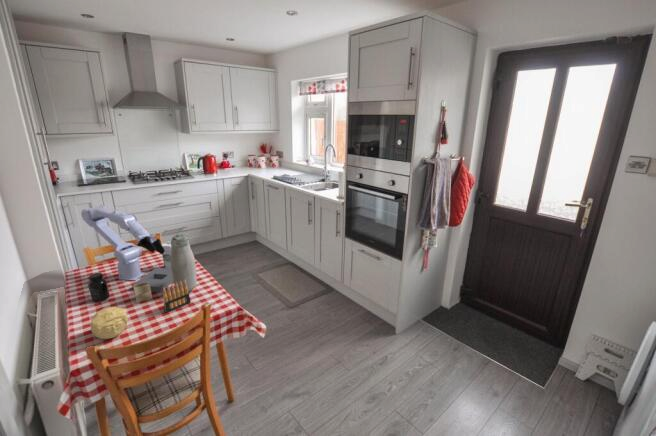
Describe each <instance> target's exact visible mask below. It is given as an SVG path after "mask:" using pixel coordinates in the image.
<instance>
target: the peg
mask: <svg viewBox="0 0 656 436" xmlns="http://www.w3.org/2000/svg"><path fill="white" fill-rule="evenodd" d="M132 285H133V284H132ZM133 287H134V290H133V291H134V296H135V301H136V303H141V301H142V302H145V301H148V300H152V299H153V295H152V292H151V289H150V284H149V282H144V283H140V284H136V285H133ZM133 287H132V288H133Z"/></svg>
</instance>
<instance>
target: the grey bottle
mask: <svg viewBox="0 0 656 436" xmlns="http://www.w3.org/2000/svg"><path fill="white" fill-rule="evenodd" d="M170 242H171V259H170V262H171V269H172V274H173V280H174V281H173V285H175V284H176V282H177V284H178V287H179V291H180V286H179V283H180V281H181V282H182V285H183V289H184V279H185V281H186V284H187V288H188V292H191V291H193V290H194V288H196V286H197V281H198V278H197V277H198V276H197V268H196V260H195V255H194V253H193V251H192V248H191V244H190V241H189V238H188V237H187V235H186V234H179V233H178V234H176V235H174V236H173V237H171V240H170Z"/></svg>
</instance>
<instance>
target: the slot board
mask: <svg viewBox="0 0 656 436" xmlns="http://www.w3.org/2000/svg"><path fill="white" fill-rule="evenodd" d="M144 282H149V284H150V289H151V293H152V292H153V293H161V292H163V287H164V288H165V289H167V286H169V285H172V284H173V283H174V280H173V274H172V269H167V268H163V267H155V268H154V269H152V270H151V271H149V272H148V273H147V274H144V275H143V276H141V277H140V278H139V279H137V280H136V282H135V281H134V283H132V285H131V286H132V290H133V291H134V287H133V285H136V284H140V283H144Z"/></svg>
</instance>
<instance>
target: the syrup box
mask: <svg viewBox="0 0 656 436" xmlns="http://www.w3.org/2000/svg"><path fill="white" fill-rule="evenodd" d="M161 245H162V247H163V248H164V250H165V252H164V253H163V254H161V255H162V260H163V267H164V268H167V269H171V262H170V259H171V241H165V242H164V243H161Z"/></svg>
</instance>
